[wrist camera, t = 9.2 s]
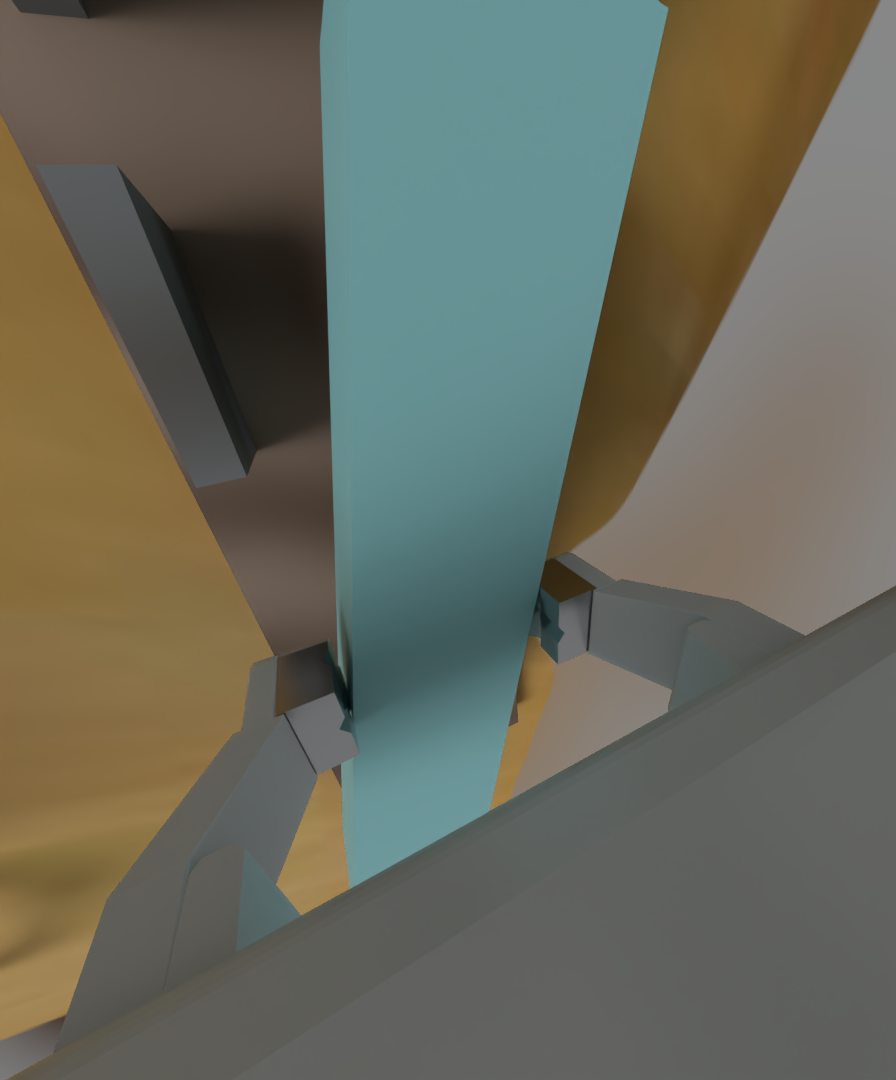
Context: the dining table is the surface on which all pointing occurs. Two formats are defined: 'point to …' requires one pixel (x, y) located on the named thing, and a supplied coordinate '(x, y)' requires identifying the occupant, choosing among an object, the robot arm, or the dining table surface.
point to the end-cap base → (202, 254)
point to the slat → (459, 361)
